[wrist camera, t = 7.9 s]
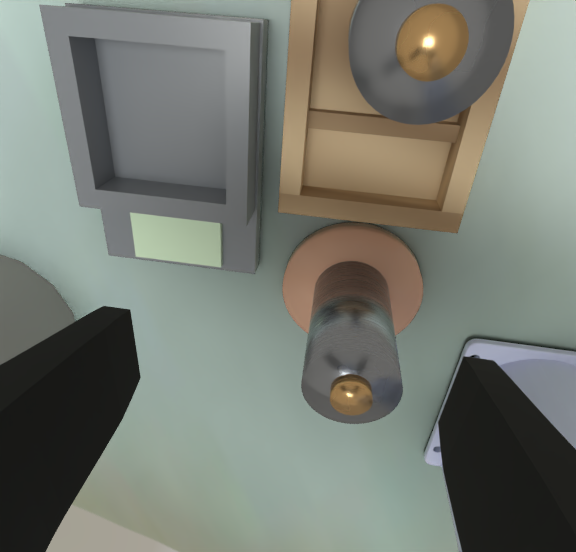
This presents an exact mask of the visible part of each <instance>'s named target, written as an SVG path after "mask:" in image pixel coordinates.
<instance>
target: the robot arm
mask: <svg viewBox="0 0 576 552" xmlns="http://www.w3.org/2000/svg"><path fill="white" fill-rule="evenodd" d="M472 355H477V356H476V357H470V356H472ZM139 380H140V371H139V365H138V358H137V352H136V345H135V338H134V332H133V325H132V319H131V312H130V310H129V309H121V308H114V307H107V306H103V307H101V308H99V309H97V310H95V311H93V312H91V313H90V314H88V315H86V316H84V317H83V318H81V319H79V320H77V321H76V322H74V323H72V324H70V325H69V326H67V327H65V328H64V329H62V330H60V331H58V332H57V333H55V334H53V335H52V336H50V337H48V338H47V339H45V340H43V341H41V342H40V343H38V344H36V345H34V346H33V347H31V348H29V349H27V350H26V351H24V352H22V353H20V354H19V355H17V356H15V357H14V358H12V359H10V360H8V361H6V362H5V363H3V364H1V365H0V552H46V550H47V548H48V546H49V544H50V541H51V540H52V538H53V536H54V534H55V532H56V530H57V529H58V527H59V525H60V523H61V521H62V520H63V518H64V516H65V514H66V513H67V511H68V509H69V508H70V506H71V504H72V503H73V501H74V499H75V498H76V496H77V494H78V493H79V491H80V489H81V488H82V486H83V484H84V483H85V481H86V479H87V478H88V476H89V474H90V473H91V471H92V469H93V468H94V466H95V464H96V463H97V461H98V459H99V458H100V456H101V455H102V453H103V451H104V449H105V448H106V446H107V444H108V443H109V441H110V439H111V438H112V436H113V434H114V433H115V431H116V429H117V427H118V426H119V424H120V422H121V420H122V419H123V416H124V414H125V412H126V410H127V408H128V406H129V403H130V401H131V399H132V396H133V394H134V392H135V389H136V387H137V385H138V382H139ZM424 459H425V462H426V463H428V464H430V465H435V466H442V471H443V476H444V481H445V486H446V491H447V495H448V500H449V505H450V510H451V515H452V520H453V525H454V530H455V535H456V540H457V545H458V550H459V552H576V352H574V351H567V350H560V349H552V348H545V347H537V346H530V345H522V344H515V343H507V342H500V341H493V340H485V339H472V340H470V341H468V342H467V343H466V345H465V347H464V350H463V352H462V355H461V358H460V360H459V363H458V365H457V368H456V371H455V373H454V376H453V379H452V381H451V384H450V387H449V389H448V392H447V395H446V397H445V400H444V402H443V405H442V408H441V410H440V413H439V416H438V418H437V421H436V424H435V426H434V429H433V431H432V434H431V437H430V439H429V442H428V445H427V447H426V450H425V453H424Z"/></svg>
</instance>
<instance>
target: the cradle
mask: <svg viewBox="0 0 576 552" xmlns="http://www.w3.org/2000/svg"><path fill="white" fill-rule="evenodd" d="M39 6H40V11H41V16H42V21H43V26H44V31H45V36H46V41H47V46H48V51H49V56H50V61H51V66H52V71H53V76H54V81H55V85H56V90H57V95H58V100H59V105H60V110H61V115H62V120H63V125H64V130H65V135H66V140H67V145H68V150H69V155H70V160H71V165H72V170H73V175H74V180H75V185H76V190H77V195H78V200H79V205H80V206H81V207H89V208H97V209H101V213H102V219H103V225H104V231H105V237H106V242H107V248H108V254H109V255H111V256H118V257H126V258H134V259H142V260H149V261H157V262H165V263H173V264H181V265H188V266H196V267H204V268H212V269H220V270H227V271H235V272H243V273H251V274H255V272H256V269H257V267H258V264H259V247H260V221H261V196H262V171H263V145H264V120H265V95H266V69H267V44H268V20H266V19H253V18H241V17H229V16H217V15H205V14H193V13H181V12H169V11H157V10H145V9H133V8H121V7H109V6H97V5H85V4H72V3H65V6H51V5H39Z"/></svg>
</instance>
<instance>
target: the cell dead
mask: <svg viewBox="0 0 576 552" xmlns="http://www.w3.org/2000/svg"><path fill="white" fill-rule="evenodd" d="M301 388H302V393H303V396H304V398H305V400H306V401H307V403H308V404H309V405H310V406H311V407H312V409H314V410H315V411H316V412H317V413H319V414H321V415H322V416H324V417H326V418H328V419H331V420H334V421H337V422H342V423H350V424H359V423H367V422H372V421H375V420H378V419H380V418H382V417H384V416H386V415H388V414H389V413H390V412H392V411H393V410H394V409H395V408H396V406H397V405H398V403H399V402H400V400H401V397H402V392H403V387H402V380H401V373H400V365H399V358H398V351H397V344H396V337H395V330H394V323H393V316H392V309H391V302H390V295H389V288H388V284H387V281H386V279H385V278H384V276H383V275H382V274H381V273H380V272H379V271H378V270H377V269H376V268H374V267H372V266H371V265H368V264H366V263H363V262H358V261H345V262H340V263H337V264H334V265H332V266H330V267H329V268H327V269H326V270H325V271H324V272H323V273H322V274H321V275H320V276H319V278H318V279H317V282H316V284H315V289H314V296H313V303H312V311H311V318H310V325H309V332H308V339H307V347H306V354H305V361H304V368H303V375H302V384H301Z"/></svg>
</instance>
